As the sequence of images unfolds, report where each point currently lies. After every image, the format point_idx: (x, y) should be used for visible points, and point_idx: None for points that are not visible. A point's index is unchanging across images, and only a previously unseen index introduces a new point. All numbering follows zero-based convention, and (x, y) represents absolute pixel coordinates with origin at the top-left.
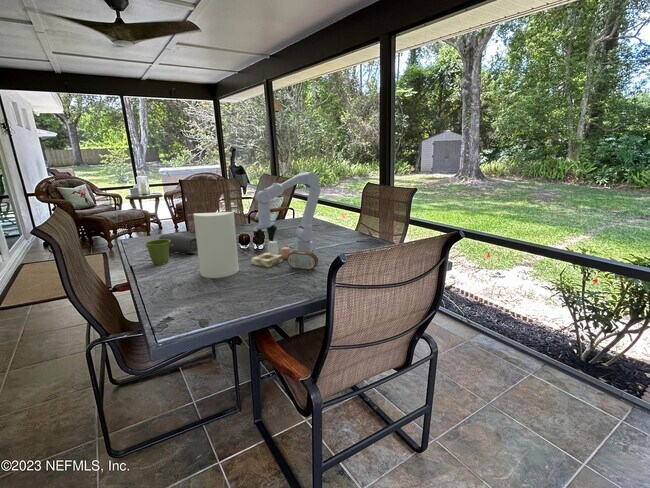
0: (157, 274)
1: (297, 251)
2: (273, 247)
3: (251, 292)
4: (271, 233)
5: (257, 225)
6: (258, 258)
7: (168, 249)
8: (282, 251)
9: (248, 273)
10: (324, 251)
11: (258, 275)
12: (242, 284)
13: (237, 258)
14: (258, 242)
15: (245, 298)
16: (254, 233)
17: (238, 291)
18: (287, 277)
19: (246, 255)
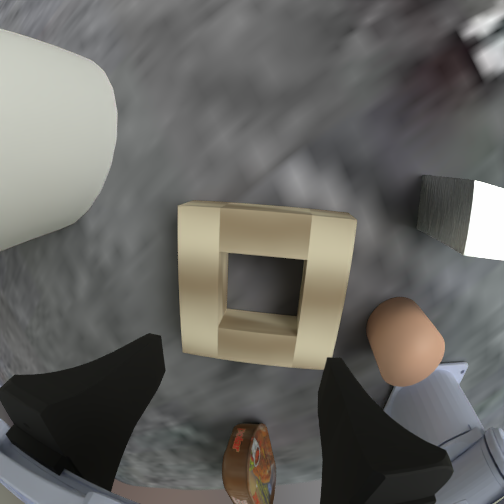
0: (5, 14)
1: (247, 497)
2: (444, 243)
3: (34, 372)
4: (328, 458)
5: (25, 495)
6: (196, 261)
7: None
8: (377, 354)
9: (86, 286)
10: (491, 406)
11: (98, 339)
12: (34, 326)
13: (36, 228)
14: (136, 340)
15: (19, 371)
16: (34, 381)
17: (16, 340)
18: (152, 431)
19: (332, 41)
